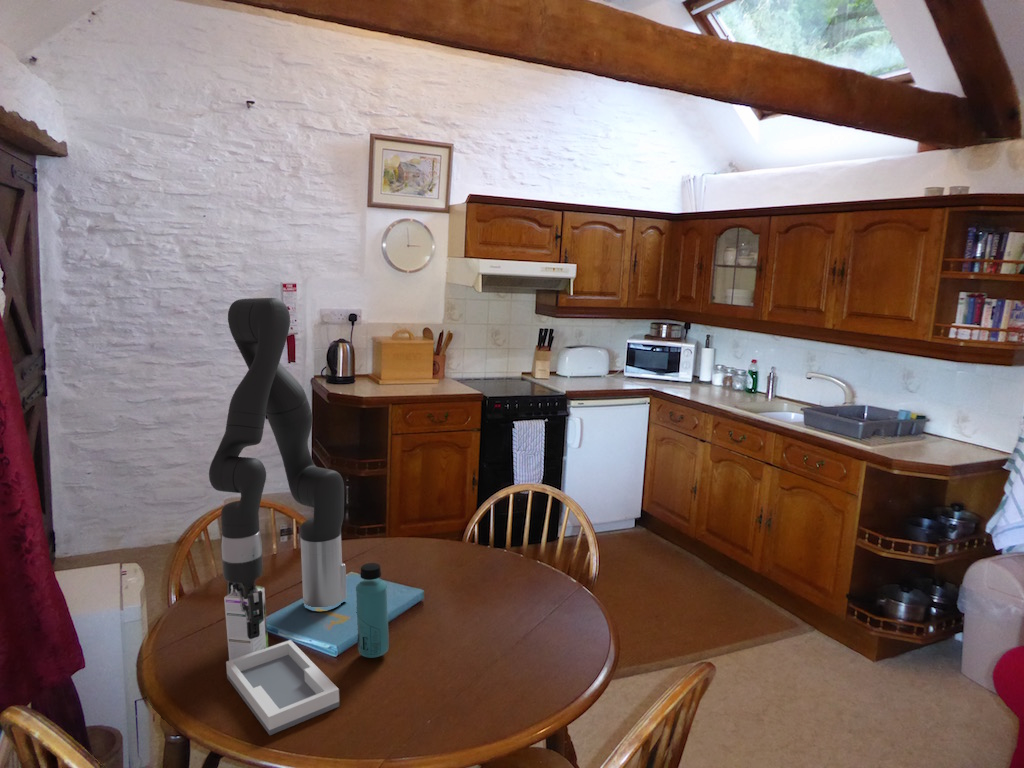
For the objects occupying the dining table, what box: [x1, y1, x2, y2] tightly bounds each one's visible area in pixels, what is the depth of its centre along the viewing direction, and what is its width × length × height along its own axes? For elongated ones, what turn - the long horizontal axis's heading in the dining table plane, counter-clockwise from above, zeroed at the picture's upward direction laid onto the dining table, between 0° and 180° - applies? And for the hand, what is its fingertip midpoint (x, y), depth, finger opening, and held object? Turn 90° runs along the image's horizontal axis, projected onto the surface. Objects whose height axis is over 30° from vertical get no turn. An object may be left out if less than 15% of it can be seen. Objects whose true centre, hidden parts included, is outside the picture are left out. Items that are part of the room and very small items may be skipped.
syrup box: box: [224, 585, 269, 661], centre depth 146 cm, size 6×6×14 cm
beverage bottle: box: [355, 562, 390, 659], centre depth 146 cm, size 6×7×20 cm
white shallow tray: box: [225, 639, 340, 736], centre depth 135 cm, size 13×22×4 cm, turn 40°
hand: (246, 629), depth 146 cm, fingers closed on syrup box, 7 cm apart
